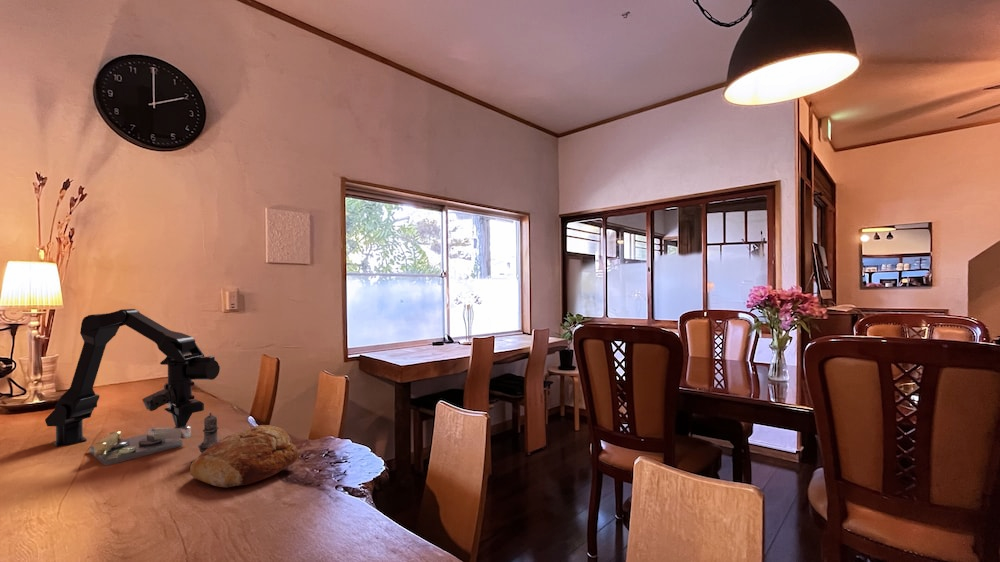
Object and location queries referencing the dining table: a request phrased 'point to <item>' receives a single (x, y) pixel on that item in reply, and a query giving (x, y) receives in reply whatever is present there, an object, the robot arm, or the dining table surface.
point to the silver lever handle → (165, 434)
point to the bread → (245, 457)
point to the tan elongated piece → (110, 443)
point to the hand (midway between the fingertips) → (180, 431)
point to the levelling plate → (135, 450)
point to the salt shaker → (209, 433)
